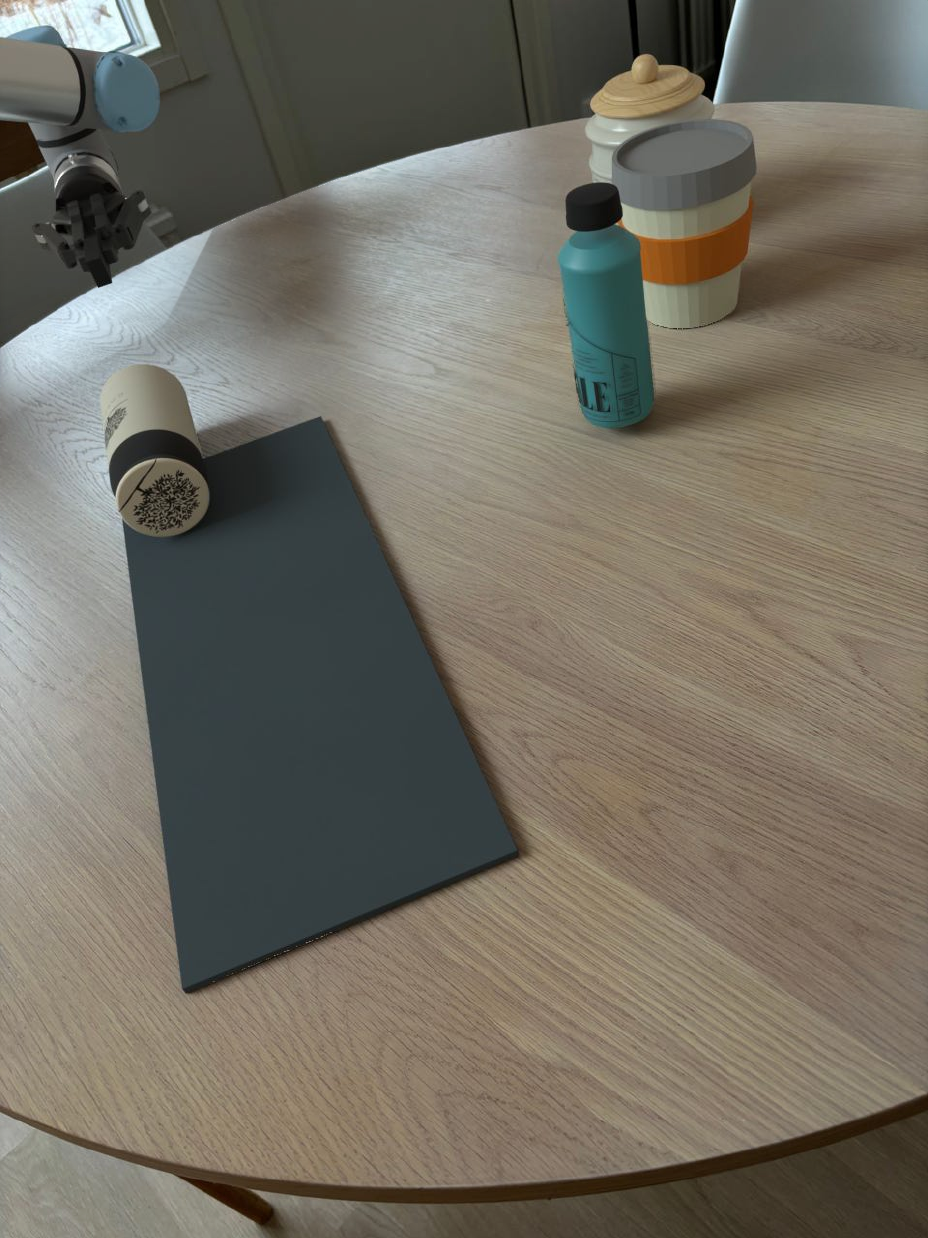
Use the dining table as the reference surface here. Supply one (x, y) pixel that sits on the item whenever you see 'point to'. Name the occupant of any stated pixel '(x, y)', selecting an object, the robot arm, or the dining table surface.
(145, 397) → the travel mug
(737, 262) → the reusable coffee cup
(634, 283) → the beverage bottle
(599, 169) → the jar
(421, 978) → the dining table surface
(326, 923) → the mat
